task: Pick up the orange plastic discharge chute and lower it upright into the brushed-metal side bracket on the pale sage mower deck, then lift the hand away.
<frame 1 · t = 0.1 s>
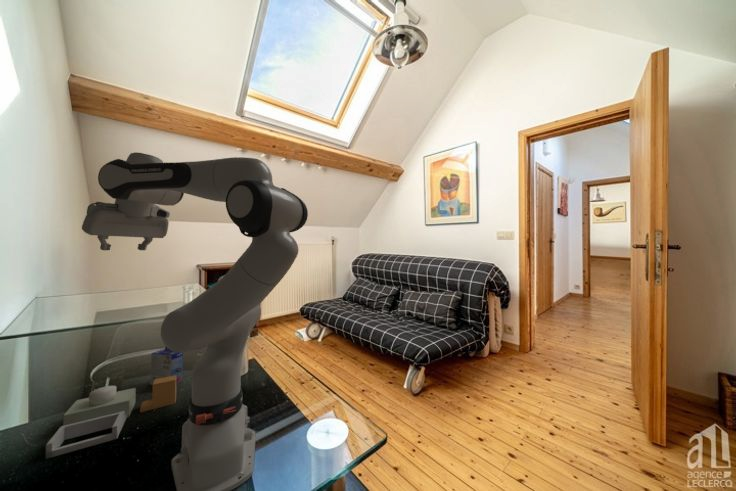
hand: (124, 249, 80), 52 cm above the table, tool tilted 20°, fingers open, 8 cm apart
mower deck: (96, 436, 73), on the table
ink cartridge box: (166, 383, 102), on the table
chute: (164, 403, 88), on the table
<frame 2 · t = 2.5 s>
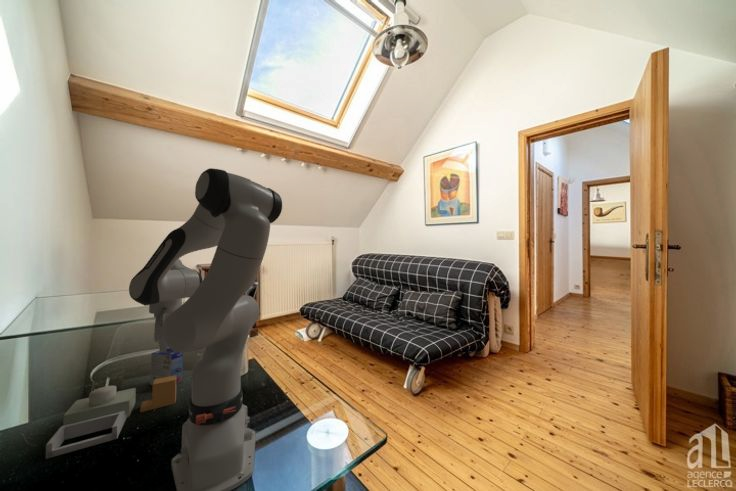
hand: (165, 346, 89), 19 cm above the table, tool pointing down, fingers open, 8 cm apart
nothing on the table moved.
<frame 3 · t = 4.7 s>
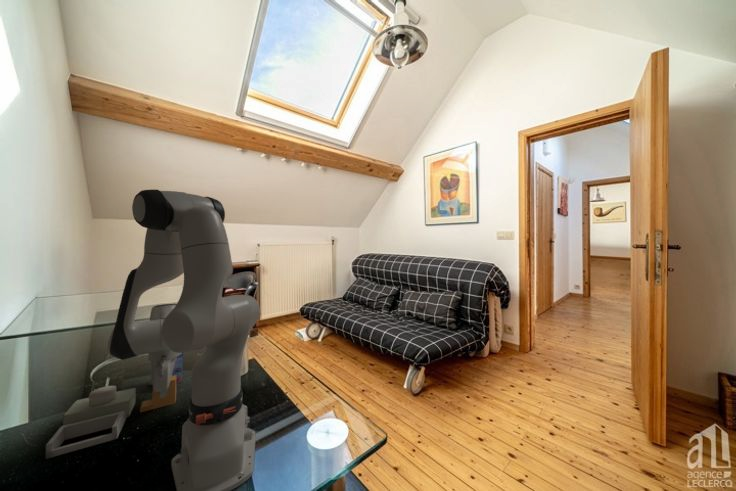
hand: (164, 392, 89), 4 cm above the table, tool pointing down, fingers closed on chute, 4 cm apart
chute: (164, 403, 88), on the table, touching gripper
everything else where it was.
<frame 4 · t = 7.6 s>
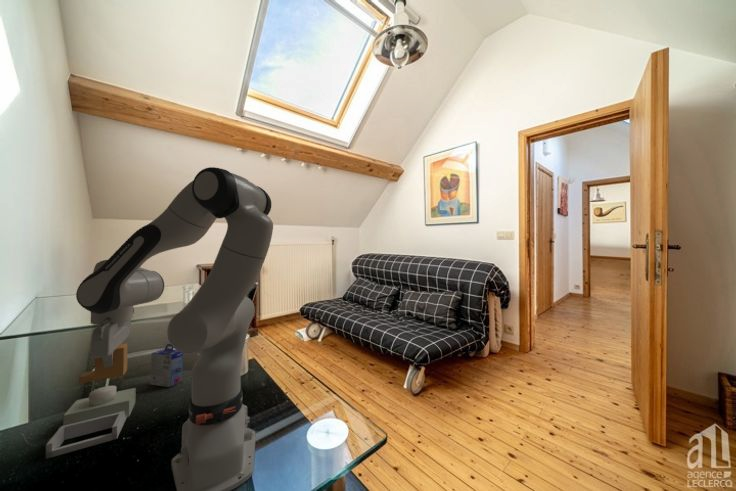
hand: (111, 362, 76), 19 cm above the table, tool pointing down, fingers closed on chute, 4 cm apart
chute: (111, 375, 76), point 16 cm above the table, touching gripper
everything else where it was.
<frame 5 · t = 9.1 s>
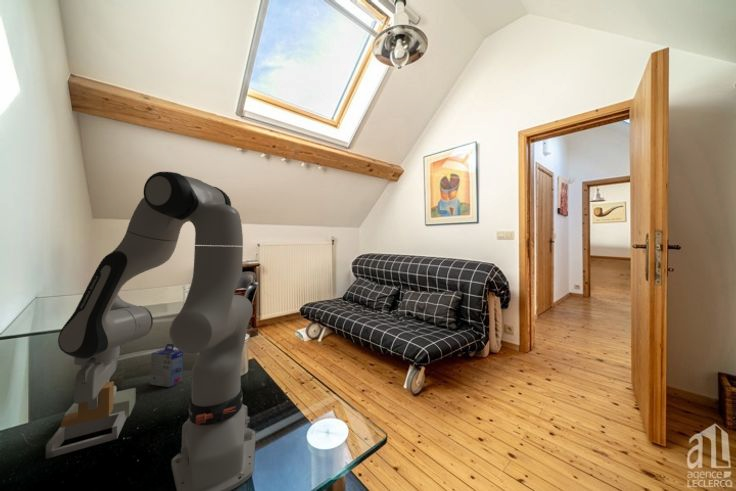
hand: (96, 402, 73), 9 cm above the table, tool pointing down, fingers closed on chute, 4 cm apart
chute: (96, 416, 73), point 6 cm above the table, touching gripper
everything else where it was.
when the fingers open (5 cm above the table, at t = 10.3 s): chute drops 2 cm, resting in mower deck.
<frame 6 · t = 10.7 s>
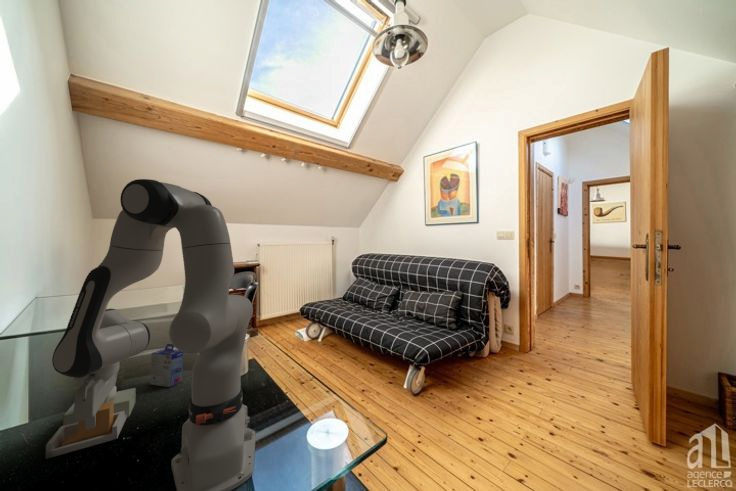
hand: (96, 418, 73), 5 cm above the table, tool pointing down, fingers open, 7 cm apart
chute: (96, 437, 73), resting in mower deck
everything else where it was.
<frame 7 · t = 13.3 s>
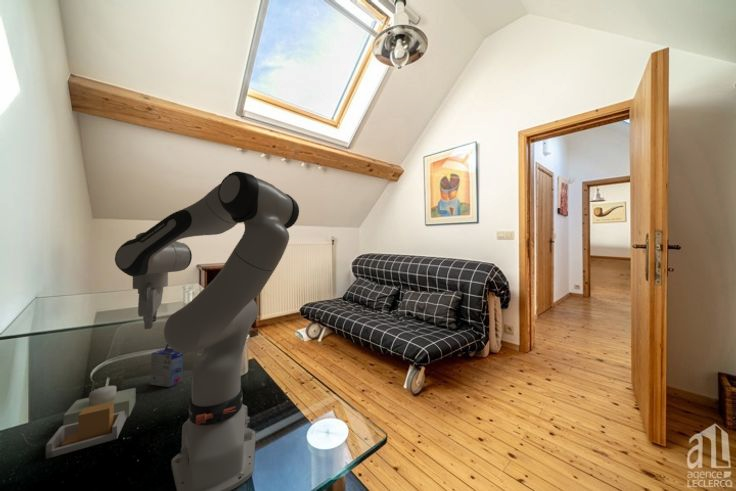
hand: (150, 324, 85), 28 cm above the table, tool pointing down, fingers open, 8 cm apart
nothing on the table moved.
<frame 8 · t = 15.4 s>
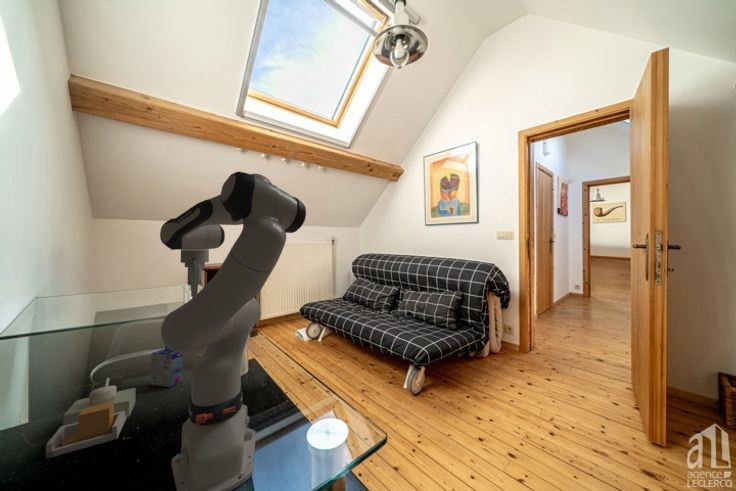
hand: (194, 295, 98), 35 cm above the table, tool pointing down, fingers open, 8 cm apart
nothing on the table moved.
at the end: chute 0.0 cm off-centre on the mower deck, point 0.0 cm above the mower deck's base; chute tilted 0°; the gripper is holding nothing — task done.
